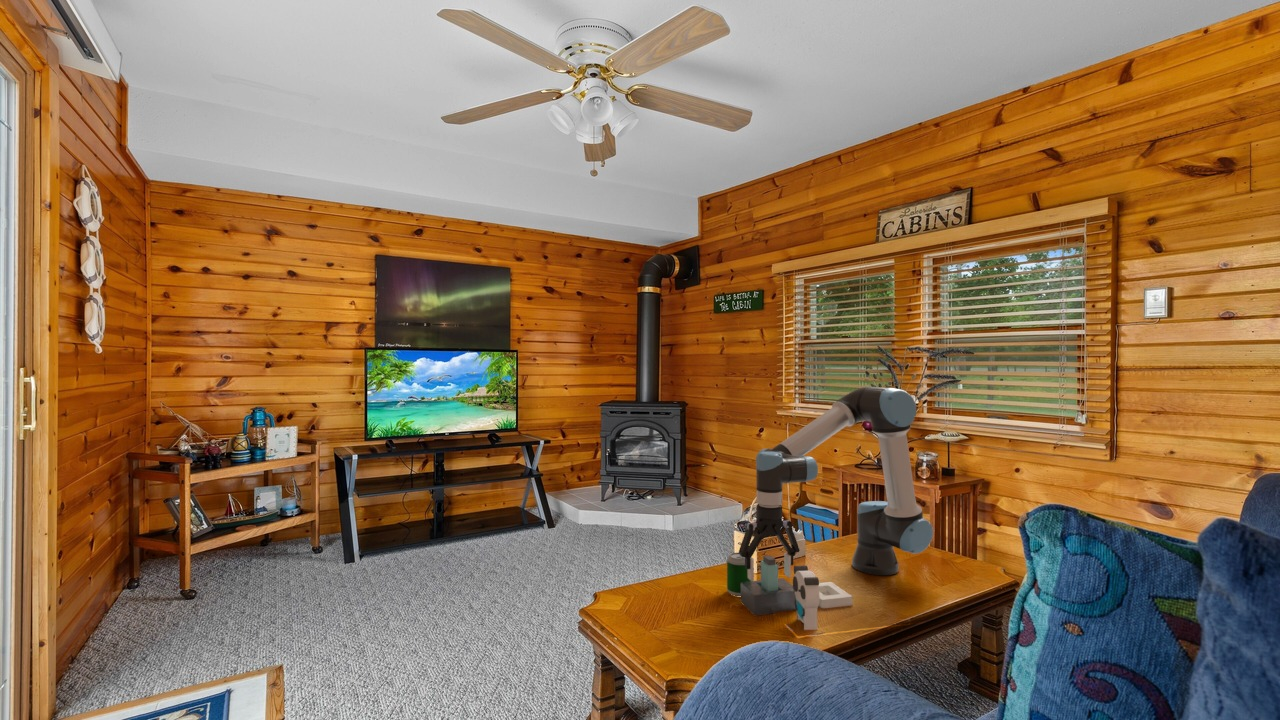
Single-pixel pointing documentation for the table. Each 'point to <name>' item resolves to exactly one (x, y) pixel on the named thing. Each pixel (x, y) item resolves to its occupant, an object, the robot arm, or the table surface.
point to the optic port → (767, 597)
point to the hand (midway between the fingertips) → (769, 577)
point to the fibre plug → (769, 574)
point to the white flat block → (833, 596)
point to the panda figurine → (806, 597)
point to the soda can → (736, 573)
